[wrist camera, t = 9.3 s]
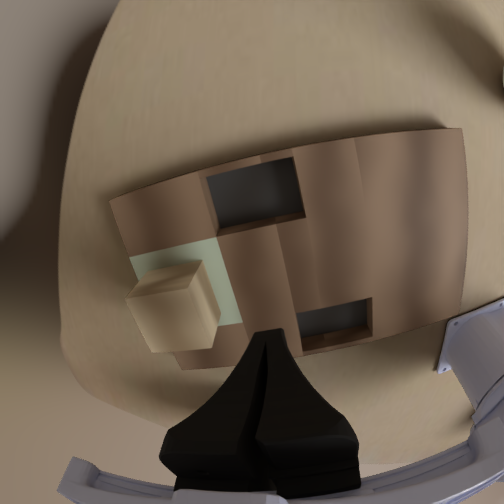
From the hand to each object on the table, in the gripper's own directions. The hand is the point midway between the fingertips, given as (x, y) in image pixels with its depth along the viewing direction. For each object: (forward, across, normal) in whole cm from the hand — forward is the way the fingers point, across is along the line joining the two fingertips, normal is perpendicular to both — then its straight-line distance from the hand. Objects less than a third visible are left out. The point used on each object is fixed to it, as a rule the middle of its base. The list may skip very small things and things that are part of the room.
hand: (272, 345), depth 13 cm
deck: (+9, -3, 0) cm, 10 cm away
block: (+7, +7, 0) cm, 10 cm away
